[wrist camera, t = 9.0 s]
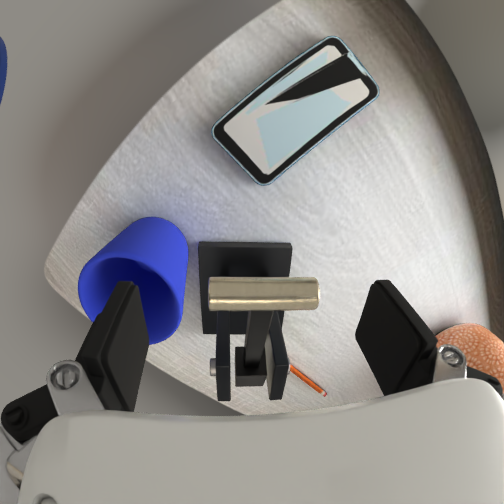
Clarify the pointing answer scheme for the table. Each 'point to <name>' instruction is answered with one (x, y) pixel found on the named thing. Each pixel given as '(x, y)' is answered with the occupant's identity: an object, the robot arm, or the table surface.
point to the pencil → (307, 380)
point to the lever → (259, 314)
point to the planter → (477, 348)
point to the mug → (141, 274)
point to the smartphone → (295, 110)
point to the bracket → (235, 322)
